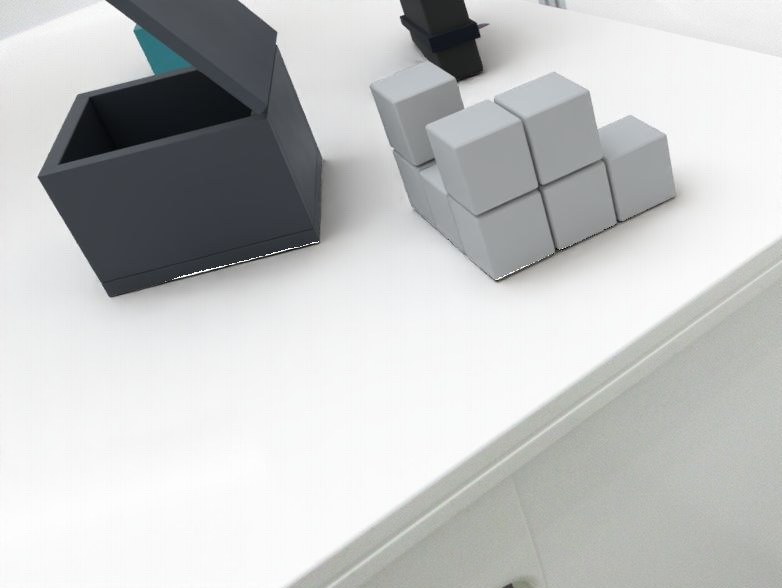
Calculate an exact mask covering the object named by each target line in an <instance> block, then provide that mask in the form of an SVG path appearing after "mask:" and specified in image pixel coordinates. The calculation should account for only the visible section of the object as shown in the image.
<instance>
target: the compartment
mask: <svg viewBox="0 0 782 588" xmlns="http://www.w3.org/2000/svg"><path fill="white" fill-rule="evenodd" d="M37 179H38V181H39V183H40V184H41V186H42V188H43V189H44V191H45V192H46V194H47V196H48V197H49V199H50V201H51V203H52V205H53V206H54V207H55V209H56V211H57V212H58V214H59V216H60V217H61V219H62V221H63V222H64V224H65V226H66V227H67V229H68V231H69V232H70V234H71V236H72V238H73V239H74V240H75V242H76V244H77V246H78V248H79V249H80V251H81V252H82V254H83V256H84V257H85V259H86V261H87V262H88V264H89V266H90V267H91V269H92V271H93V272H94V274H95V276H96V277H97V279H98V281H99V282H100V283H101V286H102V287H103V289H104V291H105V293H106V294H107V296H108V297H109V298H112V297H115V296H119V295H123V294H127V293H130V292H135V291H138V290H142V289H147V288H151V287H154V286H157V285H156V284H158V285H161V284H160V283H162V284H164V283H163V282H165V281H170V280H172V279H174V278H177V277H179V276H180V277H181V276H183V275H188V274H192V273H194V272H199V271H201V270H202V271H204V270H206V269H211V268H216V267H219V266H224V265H229V264H232V263H237V262H239V261H244V260H249V259H251V258H256V257H259V256H265V255H266V254H271V253H273V252H278V251H281V250H285V249H288V248H294V247H300V246H303V245H306V244H310V243H312V242H318V241H319V242H320V239H319V235H321V211H322V188H323V187H322V186H323V156H322V153H321V151H320V149H319V146H318V143H317V141H316V139H315V136H314V133H313V131H312V129H311V126H310V123H309V120H308V119H307V116H306V113H305V111H304V108H303V106H302V103H301V101H300V98H299V96H298V93H297V91H296V88H295V86H294V83H293V81H292V78H291V75H290V73H289V71H288V68H287V66H286V63H285V61H284V58H283V56H282V53H281V51H280V48H279V46H278V44H276V47H275V54H274V61H273V68H272V75H271V82H270V89H269V97H268V104H267V107H266V108H265V109H264V110H263V112H262V113H261V114H260V115H258V114H257V113H255V112H254V111H253V110H251V109H250V108H249V107H247V106H246V105H244V104H243V103H242V102H240V101H239V100H238V99H236V98H235V97H234V96H232V95H231V94H230V93H228V92H227V91H226V90H224V89H223V88H222V87H220V86H219V85H218V84H216V83H215V82H214V81H212V80H211V79H210V78H208V77H207V76H206V75H204V74H203V73H202V72H200V71H199V70H198V69H196V68H195V67H194V66H188V67H184V68H180V69H176V70H172V71H169V72H165V73H161V74H157V75H154V74H152V75H148V76H144V77H141V78H137V79H134V80H128V81H125V82H121V83H117V84H113V85H109V86H105V87H102V88H97V89H93V90H89V91H86V92H80V93H78V94H77V95H76V96H75V98H74V101H72V104H71V106H70V109H69V111H68V112H67V115H66V117H65V119H64V121H63V123H62V125H61V127H60V130H59V131H58V133H57V136H56V137H55V139H54V142H53V143H52V146H51V148H50V150H49V152H48V154H47V156H46V158H45V160H44V162H43V165H42V167H41V169H40V171H39V173H38V175H37ZM319 231H320V232H319ZM170 282H171V281H170ZM146 287H147V288H146Z"/></svg>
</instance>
